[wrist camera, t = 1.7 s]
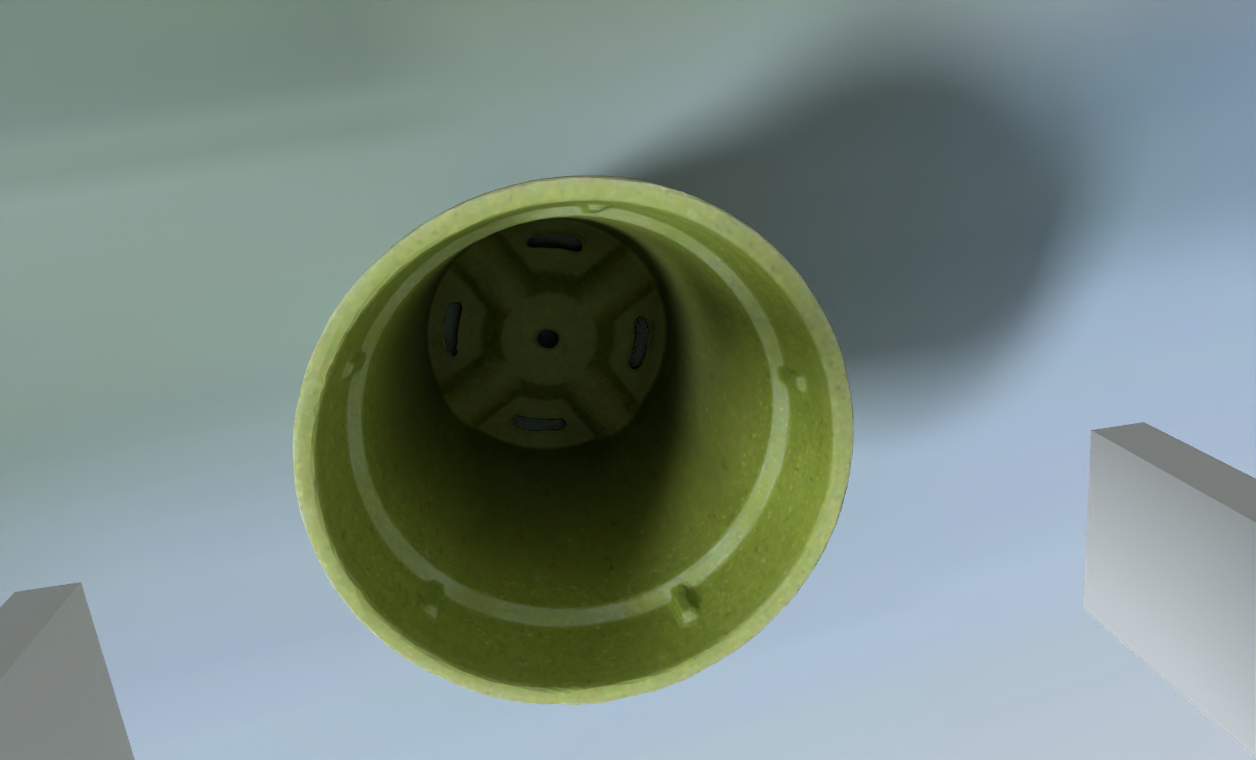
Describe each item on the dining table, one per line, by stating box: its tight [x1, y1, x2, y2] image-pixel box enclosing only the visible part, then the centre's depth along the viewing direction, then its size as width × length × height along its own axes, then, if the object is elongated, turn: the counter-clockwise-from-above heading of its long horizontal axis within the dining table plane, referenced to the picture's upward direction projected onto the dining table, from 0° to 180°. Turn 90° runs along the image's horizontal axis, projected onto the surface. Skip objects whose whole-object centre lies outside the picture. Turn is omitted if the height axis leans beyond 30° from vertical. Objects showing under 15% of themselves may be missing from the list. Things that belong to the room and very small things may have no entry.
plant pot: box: [293, 176, 854, 705], centre depth 20 cm, size 9×9×9 cm
